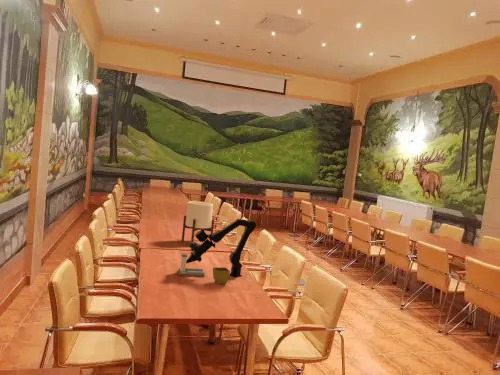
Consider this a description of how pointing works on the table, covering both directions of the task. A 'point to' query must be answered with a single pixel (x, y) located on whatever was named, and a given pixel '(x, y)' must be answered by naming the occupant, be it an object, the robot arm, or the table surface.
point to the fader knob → (183, 261)
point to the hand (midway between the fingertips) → (186, 262)
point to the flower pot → (221, 275)
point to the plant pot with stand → (198, 217)
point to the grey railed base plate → (191, 272)
